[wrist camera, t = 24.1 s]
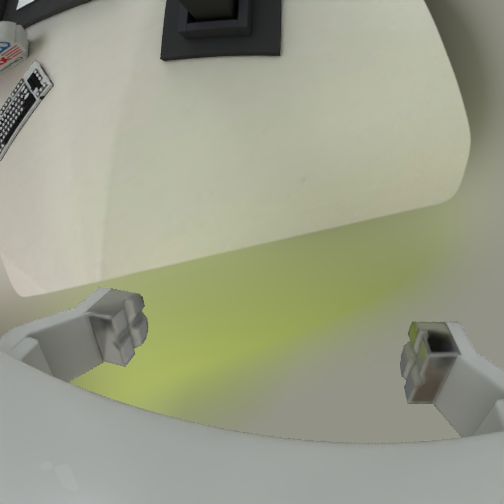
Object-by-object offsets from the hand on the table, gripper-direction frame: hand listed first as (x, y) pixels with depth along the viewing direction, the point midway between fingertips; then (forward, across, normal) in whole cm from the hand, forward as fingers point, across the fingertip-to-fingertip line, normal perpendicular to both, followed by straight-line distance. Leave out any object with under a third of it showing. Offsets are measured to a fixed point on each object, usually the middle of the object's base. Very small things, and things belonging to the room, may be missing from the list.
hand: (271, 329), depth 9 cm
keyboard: (+27, +45, -12) cm, 54 cm away
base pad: (+30, +10, -20) cm, 37 cm away
